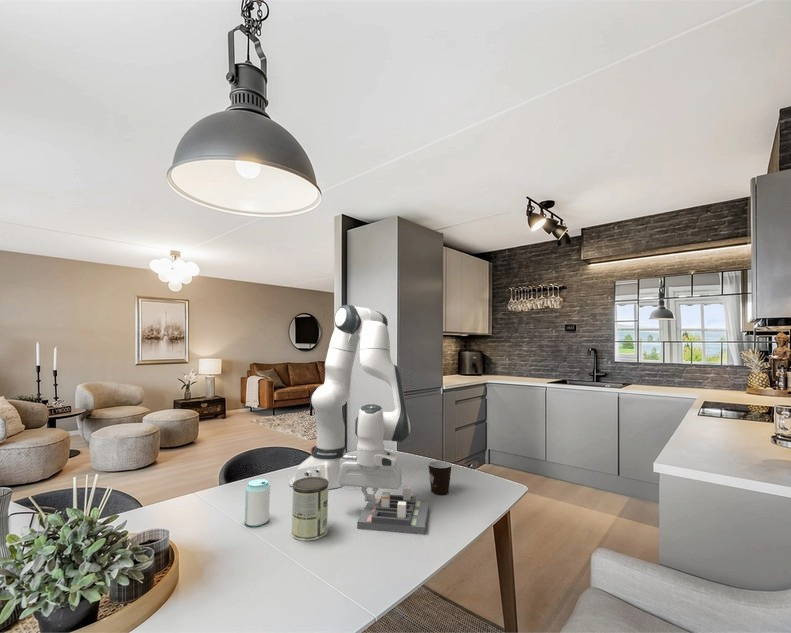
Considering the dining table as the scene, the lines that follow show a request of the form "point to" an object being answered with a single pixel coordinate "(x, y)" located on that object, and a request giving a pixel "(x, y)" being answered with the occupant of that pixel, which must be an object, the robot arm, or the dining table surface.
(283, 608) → the dining table surface
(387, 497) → the block
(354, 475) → the robot arm
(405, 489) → the block
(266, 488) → the can
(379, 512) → the panel
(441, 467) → the coffee mug
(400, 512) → the breaker near
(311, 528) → the coffee can
